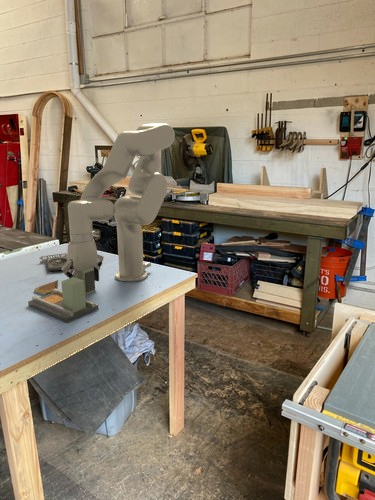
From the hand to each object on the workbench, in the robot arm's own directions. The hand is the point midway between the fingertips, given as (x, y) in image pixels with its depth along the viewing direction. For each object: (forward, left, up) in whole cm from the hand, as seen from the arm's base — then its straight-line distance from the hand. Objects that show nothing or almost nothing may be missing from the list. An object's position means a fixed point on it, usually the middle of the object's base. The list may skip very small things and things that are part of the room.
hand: (85, 284), depth 133 cm
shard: (+7, -13, -3) cm, 15 cm away
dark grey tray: (+13, +5, -3) cm, 14 cm away
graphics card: (-11, -33, -4) cm, 35 cm away
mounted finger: (+13, +11, -1) cm, 17 cm away
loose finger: (0, 0, -3) cm, 3 cm away
